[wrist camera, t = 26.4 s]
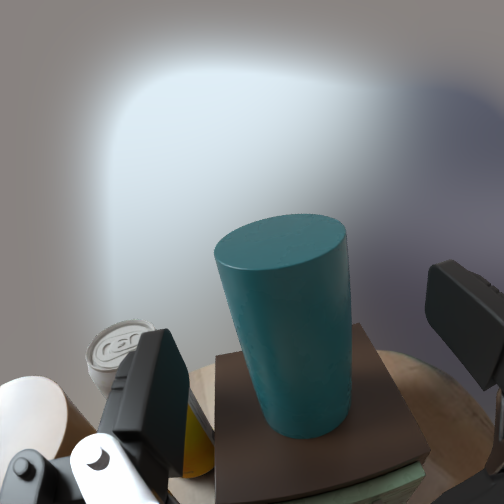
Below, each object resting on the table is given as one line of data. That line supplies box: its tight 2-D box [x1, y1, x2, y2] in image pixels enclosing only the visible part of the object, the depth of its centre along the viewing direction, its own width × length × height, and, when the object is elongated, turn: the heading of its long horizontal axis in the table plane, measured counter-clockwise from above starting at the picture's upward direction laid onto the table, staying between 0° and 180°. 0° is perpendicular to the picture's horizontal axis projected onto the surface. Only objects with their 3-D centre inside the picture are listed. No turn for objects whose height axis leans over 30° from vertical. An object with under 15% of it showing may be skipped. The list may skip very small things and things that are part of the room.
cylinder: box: [214, 214, 352, 439], centre depth 16 cm, size 6×6×12 cm
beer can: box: [86, 319, 215, 478], centre depth 21 cm, size 6×6×15 cm
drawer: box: [266, 461, 426, 504], centre depth 17 cm, size 17×11×7 cm
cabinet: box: [215, 323, 431, 504], centre depth 20 cm, size 14×13×9 cm
